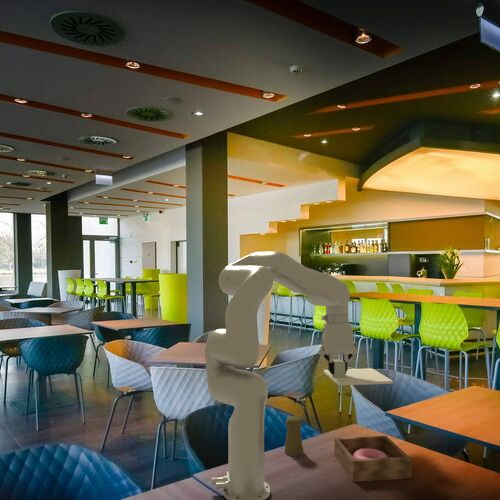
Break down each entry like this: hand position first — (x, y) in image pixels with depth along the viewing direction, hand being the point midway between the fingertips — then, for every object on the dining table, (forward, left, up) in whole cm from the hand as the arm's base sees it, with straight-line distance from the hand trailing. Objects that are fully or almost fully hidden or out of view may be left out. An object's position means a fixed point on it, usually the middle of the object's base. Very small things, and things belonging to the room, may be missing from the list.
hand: (337, 373), depth 152 cm
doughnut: (+4, -18, -24) cm, 30 cm away
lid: (+6, 0, -2) cm, 7 cm away
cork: (-16, -5, -24) cm, 29 cm away
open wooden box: (+4, -18, -24) cm, 30 cm away
